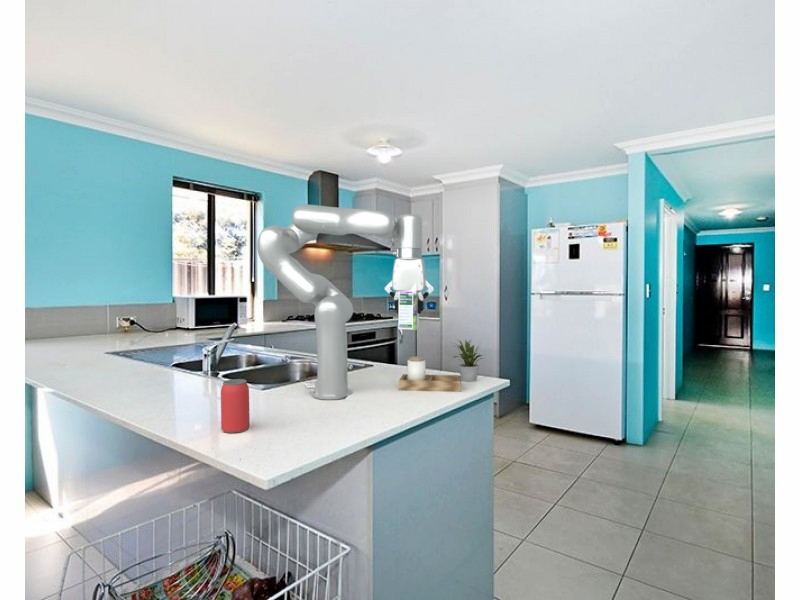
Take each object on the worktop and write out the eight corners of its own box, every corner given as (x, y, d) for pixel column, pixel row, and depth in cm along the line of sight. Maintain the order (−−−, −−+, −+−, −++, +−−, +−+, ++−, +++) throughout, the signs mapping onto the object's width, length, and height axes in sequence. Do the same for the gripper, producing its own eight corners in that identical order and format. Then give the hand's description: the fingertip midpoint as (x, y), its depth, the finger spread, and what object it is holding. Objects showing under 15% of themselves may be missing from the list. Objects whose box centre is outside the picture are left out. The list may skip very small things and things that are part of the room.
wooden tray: (398, 392, 154) (398, 380, 154) (403, 385, 164) (403, 374, 164) (460, 394, 151) (460, 381, 151) (460, 387, 162) (460, 375, 162)
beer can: (225, 426, 119) (224, 378, 119) (252, 425, 120) (251, 378, 119) (217, 434, 112) (216, 384, 112) (246, 433, 113) (245, 383, 113)
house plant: (437, 380, 172) (437, 336, 171) (466, 376, 180) (466, 333, 179) (463, 388, 160) (463, 340, 159) (493, 383, 168) (493, 337, 167)
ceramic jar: (406, 388, 156) (406, 358, 156) (408, 384, 162) (408, 355, 162) (424, 389, 155) (424, 359, 155) (426, 385, 161) (426, 356, 161)
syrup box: (397, 329, 144) (398, 282, 144) (401, 327, 150) (402, 282, 150) (416, 330, 143) (416, 282, 142) (419, 328, 149) (420, 282, 148)
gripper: (379, 254, 143) (379, 313, 144) (436, 254, 141) (436, 314, 141) (384, 255, 151) (383, 312, 151) (438, 255, 148) (437, 312, 149)
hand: (409, 312), depth 146 cm, fingers closed on syrup box, 5 cm apart
